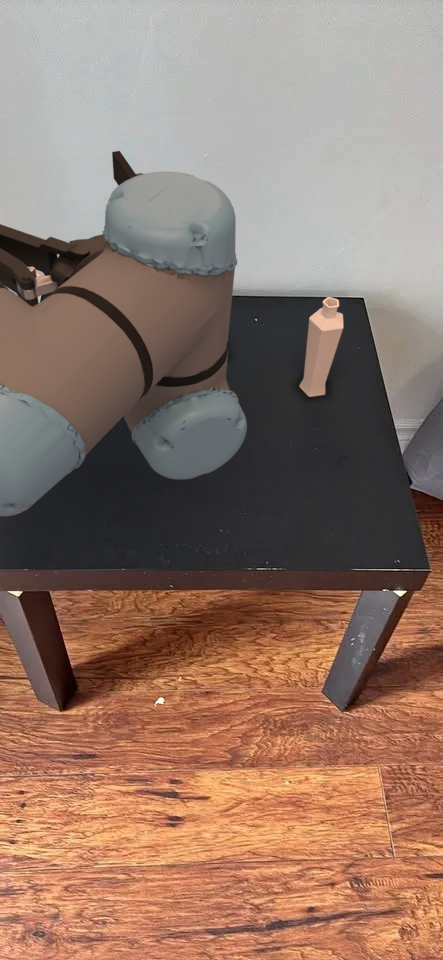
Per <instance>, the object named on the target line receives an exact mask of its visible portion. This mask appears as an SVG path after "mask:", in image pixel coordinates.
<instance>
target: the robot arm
mask: <svg viewBox="0 0 443 960" xmlns="http://www.w3.org/2000/svg"><path fill="white" fill-rule="evenodd" d="M111 157H112V173H113V180H114V182H115V183H116V184H117V186H116V187H115V188H114V189H113V191H112V192H111V194H110V197H109V198H108V199H107V204H106V205H105V211H104V213H105V215H104V226H103V230H102V231H101V232H102V234H98V235H94V236H91V237H90V238H79V239H73V240H69V242H68V241H65V240H62V239H59V238H56V237H53V236H49V237H48V238H46V239H44V238H41V237H38V236H35V235H33V234H30V233H28V232H24V231H21V230H18V229H16V228H13V227H10V226H6V225H4V224H0V517H11V516H16V515H18V514H22V513H23V512H25V511H27V510H28V509H30V508H31V507H32V506H33V505H34V504H35V503H36V502H38V501H39V500H40V499H41V498H42V497H43V496H45V495H46V494H47V493H48V492H49V491H50V490H51V489H52V488H54V486H56V485H57V484H58V483H59V482H60V481H61V480H62V479H64V478H65V477H66V476H67V475H69V474H71V473H72V472H73V471H74V470H75V469H79V468H80V466H81V465H82V464H83V463H84V461H85V458H86V456H87V455H88V454H89V453H90V452H91V451H92V450H93V448H95V446H96V445H97V444H98V443H99V442H100V441H101V440H102V439H103V438H105V436H106V435H107V434H108V433H109V432H110V431H111V430H112V429H113V428H114V427H115V426H116V425H117V424H118V423H119V421H121V420H122V418H123V419H124V420H125V423H126V424H127V427H128V429H129V431H130V433H131V440H132V442H133V443H134V444H135V445H136V446H137V447H138V449H139V451H140V452H141V454H142V455H143V457H144V458H145V460H146V462H147V464H148V465H149V466H150V467H151V469H152V470H153V471H154V472H155V473H157V474H158V475H159V476H162V477H164V478H167V479H171V480H179V481H180V480H181V481H183V480H190V479H191V480H192V479H194V478H197V477H200V476H202V475H208V474H209V473H211V472H214V471H216V470H217V469H219V468H220V467H222V466H223V465H225V464H226V463H228V462H229V460H231V459H232V458H233V457H234V456H235V455H236V454H237V452H238V451H239V450H240V448H241V447H242V445H243V443H244V440H245V439H246V435H247V432H248V431H247V430H248V423H247V417H246V415H245V413H244V411H243V409H242V407H241V405H240V403H239V398H238V395H237V393H236V392H234V391H233V390H231V388H230V387H229V383H228V381H227V367H228V357H229V347H228V342H229V333H230V323H231V312H232V303H233V292H234V281H235V271H236V266H238V258H237V253H236V224H237V223H236V219H237V218H236V213H235V209H234V206H233V204H232V202H231V200H230V199H229V197H228V196H227V194H226V193H225V192H224V191H223V190H222V189H221V188H220V187H218V186H217V185H216V184H214V183H212V182H211V181H208V180H204V179H201V178H198V177H197V176H194V175H193V174H189V173H184V172H180V171H179V172H178V171H154V172H148V173H142V172H139V173H136V172H135V170H133V168H132V166H131V165H130V164H129V162H128V161H127V159H126V157H125V156H124V155H123V154H122V152H121V150H115V151H111ZM37 271H38V272H37ZM39 272H41V273H43V275H42V274H40V273H39ZM44 295H46V296H45V297H44V298H43V299H42V300H41V301H39V297H41V296H44Z"/></svg>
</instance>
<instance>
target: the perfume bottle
mask: <svg viewBox="0 0 443 960" xmlns="http://www.w3.org/2000/svg"><path fill="white" fill-rule="evenodd" d="M339 307H340V300H339V299H337V298H335V297H331V296H327V297H326V298H325V299H323V301H322V307H320V308H319V309H318V310H317V311H316V312H314V313H313V314H312V315H310V316H309V318H308V326H307V327H308V328H307V338H306V339H307V340H306V351H305V359H304V369H303V379H302V380H301V382H300V383H299V386H298V388H300V389H301V390H302V391H303V393H304V394H305V395H306V396H307V397H309V398H310V397H319V396H325V395H326V382H327V379H328V376H329V373H330V370H331V367H332V364H333V361H334V358H335V354H336V352H337V349H338V345H339V343H340V340H341V337H342V334H343V330H344V314H343V313H342V312H338V308H339Z"/></svg>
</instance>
